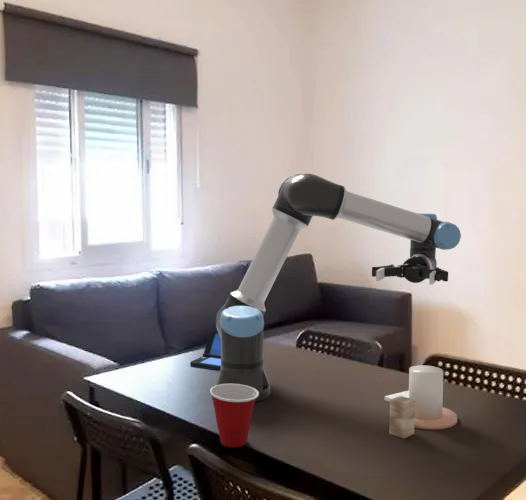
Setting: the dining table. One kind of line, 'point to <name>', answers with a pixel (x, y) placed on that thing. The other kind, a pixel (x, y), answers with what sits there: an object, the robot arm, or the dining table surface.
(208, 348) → the handheld game console
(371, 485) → the dining table surface
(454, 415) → the peach round disc
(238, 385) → the plastic cup
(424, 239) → the robot arm
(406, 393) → the white square pad
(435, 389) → the white pillar candle
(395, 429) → the beech block
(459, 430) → the dining table surface
